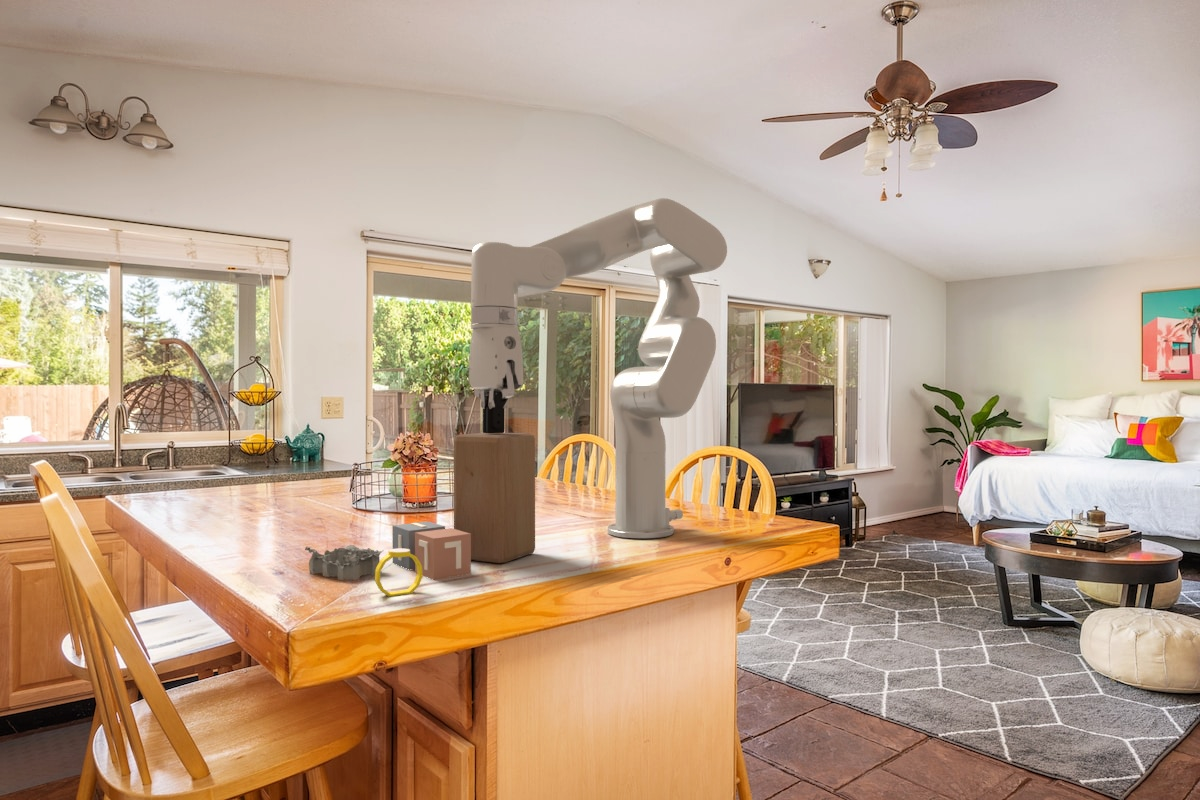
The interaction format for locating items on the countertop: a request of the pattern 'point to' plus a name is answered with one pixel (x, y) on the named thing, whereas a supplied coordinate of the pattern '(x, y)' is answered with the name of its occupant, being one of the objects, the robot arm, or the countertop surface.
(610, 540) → the countertop surface
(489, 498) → the wooden block
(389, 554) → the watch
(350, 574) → the egg carton
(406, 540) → the slate cube one
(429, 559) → the terracotta cube seven
